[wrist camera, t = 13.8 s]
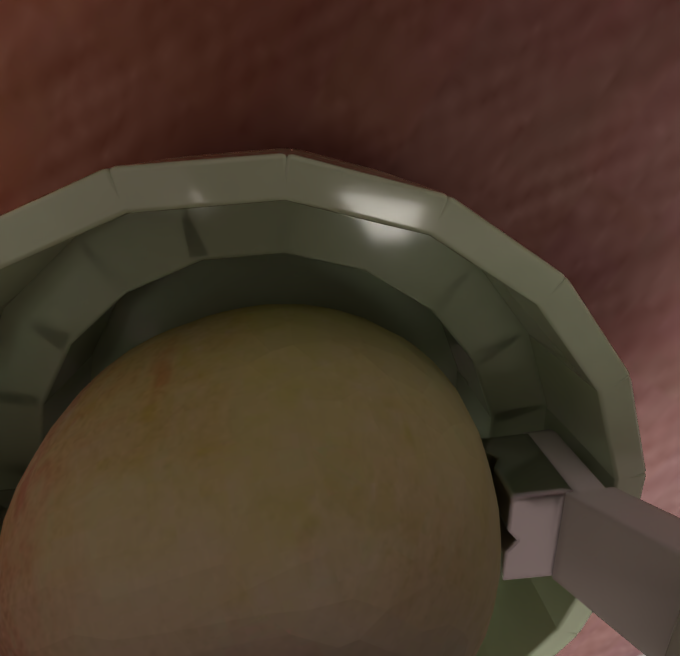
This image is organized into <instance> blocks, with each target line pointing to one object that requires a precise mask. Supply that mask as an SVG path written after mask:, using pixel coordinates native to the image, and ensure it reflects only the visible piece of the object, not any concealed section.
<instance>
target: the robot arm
mask: <svg viewBox="0 0 680 656" xmlns="http://www.w3.org/2000/svg"><path fill="white" fill-rule="evenodd" d="M481 440H482V443H483V447H484V450H485V453H486V457H487V460H488V464H489V467H490V470H491V474H492V479H493V484H494V488H495V493H496V498H497V502H498V507H499V518H500V531H501V566H500V575H501V577H502V579H503V580H512V579H522V578H532V577H543V576H552V579H554V580H555V581H556V582H557V583H558V584H560V585H561V586H562V587H563V588H565V589H566V590H567V591H568V592H569V593H571V594H572V595H573V596H574V597H575V598H577V599H578V600H579V601H580V602H581V603H583V604H584V605H585V606H586V607H588V608H589V609H590V610H591V611H592V612H594V613H595V614H596V615H597V616H598V617H600V618H601V619H602V620H603V621H605V622H606V623H607V624H608V625H609V626H611V627H612V628H613V629H614V630H615V631H617V632H618V633H619V634H620V635H621V636H623V637H624V638H625V639H626V640H628V641H629V642H630V643H631V644H632V645H634V646H635V647H636V648H637V649H638V650H640V651H641V652H642V653H643V654H645V655H646V656H680V518H679V517H677V516H674V515H672V514H670V513H668V512H666V511H664V510H662V509H660V508H658V507H655V506H653V505H651V504H649V503H647V502H645V501H643V500H641V499H638V498H636V497H634V496H632V495H630V494H628V493H626V492H624V491H622V490H619V489H617V488H615V487H609V488H605V487H604V485H603V484H602V483H601V482H600V481H599V480H598V479H597V478H596V477H595V475H594V474H593V473H592V472H591V471H590V470H589V469H588V468H587V466H586V465H585V464H584V463H583V462H582V461H581V460H580V459H579V457H578V456H577V455H576V454H575V453H574V452H573V451H572V450H571V448H570V447H569V446H568V445H567V444H566V443H565V442H564V441H563V439H562V438H561V437H560V436H559V435H558V434H557V433H556V432H555V431H553V430H551V429H546V430H539V431H532V432H524V433H523V434H514V435H505V436H497V437H488V438H481ZM15 490H16V489H6V490H0V534H1V530H2V525H3V521H4V518H5V515H6V513H7V510H8V508H9V505H10V503H11V500H12V498H13V495H14V492H15Z"/></svg>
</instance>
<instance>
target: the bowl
mask: <svg viewBox="0 0 680 656" xmlns="http://www.w3.org/2000/svg"><path fill="white" fill-rule="evenodd" d="M263 304H307V305H313V306H319V307H325V308H331V309H336V310H340V311H343V312H346V313H350V314H353V315H356V316H359V317H363V318H365V319H367V320H369V321H371V322H373V323H375V324H377V325H379V326H381V327H383V328H385V329H387V330H389V331H391V332H393V333H395V334H397V335H399V336H401V337H403V338H404V339H406V340H407V341H409V342H410V343H412V344H413V345H415V346H416V347H417V348H418V349H419V350H421V351H422V352H423V353H424V354H425V355H426V356H428V357H429V358H430V359H431V360H432V361H433V362H434V363H435V364H436V365H437V366H438V367H439V369H440V370H441V371H442V372H443V373H444V374H445V375H446V377H447V378H448V379H449V380H450V382H451V383H452V384H453V386H454V387H455V388H456V390H457V391H458V393H459V395H460V397H461V398H462V400H463V402H464V404H465V406H466V408H467V410H468V412H469V414H470V416H471V418H472V420H473V422H474V424H475V426H476V427H477V429H478V431H479V434H480V437H481V438H488V437H497V436H505V435H514V434H523V433H524V432H532V431H539V430H546V429H551V430H553V431H555V432H556V433H557V434H558V435H559V436H560V437H561V438H562V439H563V441H564V442H565V443H566V444H567V445H568V446H569V447H570V448H571V450H572V451H573V452H574V453H575V454H576V455H577V456H578V457H579V459H580V460H581V461H582V462H583V463H584V464H585V465H586V466H587V468H588V469H589V470H590V471H591V472H592V473H593V474H594V475H595V477H596V478H597V479H598V480H599V481H600V482H601V483H602V484H603V485H604V487H605V488H609V487H615V488H617V489H619V490H622V491H624V492H626V493H628V494H630V495H632V496H634V497H636V498H638V499H640V498H641V494H642V490H643V485H644V481H645V477H646V475H645V471H646V469H645V463H644V457H643V451H642V444H641V438H640V432H639V426H638V419H637V413H636V407H635V401H634V394H633V388H632V382H631V378H630V376H629V372H628V370H627V369H626V367H625V365H624V364H623V362H622V361H621V359H620V358H619V356H618V355H617V353H616V352H615V350H614V348H613V347H612V345H611V344H610V342H609V341H608V339H607V338H606V336H605V335H604V333H603V332H602V330H601V328H600V327H599V325H598V324H597V322H596V321H595V319H594V318H593V316H592V315H591V313H590V311H589V310H588V308H587V307H586V305H585V304H584V302H583V301H582V299H581V298H580V296H579V294H578V293H577V291H576V290H575V288H574V287H573V285H572V284H571V282H570V281H569V279H567V278H566V277H564V275H563V273H562V272H560V271H559V270H557V269H556V268H554V267H553V266H551V265H550V264H549V263H547V262H546V261H544V260H543V259H541V258H540V257H538V256H537V255H536V254H534V253H533V252H531V251H530V250H528V249H527V248H525V247H524V246H523V245H521V244H520V243H518V242H517V241H515V240H514V239H512V238H511V237H510V236H508V235H507V234H505V233H504V232H502V231H501V230H499V229H498V228H497V227H495V226H494V225H492V224H491V223H489V222H488V221H486V220H485V219H484V218H482V217H481V216H479V215H478V214H476V213H475V212H473V211H472V210H471V209H469V208H468V207H466V206H465V205H463V204H462V203H460V202H459V201H458V200H456V199H455V198H453V197H450V196H448V195H445V194H444V193H442V192H439V191H436V190H433V189H431V188H428V187H425V186H422V185H419V184H417V183H414V182H411V181H408V180H406V179H402V178H400V177H397V176H394V175H391V174H389V173H386V172H383V171H380V170H376V169H372V168H368V167H365V166H361V165H357V164H353V163H349V162H346V161H342V160H338V159H334V158H330V157H327V156H323V155H319V154H315V153H311V152H307V151H304V150H300V149H296V148H295V149H292V150H291V149H290V148H278V149H265V150H253V151H240V152H227V153H214V154H201V155H192V156H185V157H178V158H171V159H162V160H155V161H148V162H140V163H133V164H126V165H118V166H114V167H112V168H105V169H102V170H99V171H97V172H95V173H93V174H91V175H88V176H86V177H84V178H82V179H80V180H77V181H75V182H73V183H71V184H69V185H66V186H64V187H62V188H60V189H57V190H55V191H53V192H51V193H49V194H46V195H44V196H42V197H40V198H38V199H35V200H33V201H31V202H29V203H27V204H24V205H22V206H20V207H18V208H16V209H13V210H11V211H9V212H7V213H5V214H2V215H0V490H6V489H16V487H17V485H18V483H19V481H20V480H21V478H22V476H23V474H24V472H25V470H26V469H27V467H28V465H29V463H30V461H31V460H32V458H33V456H34V455H35V453H36V451H37V450H38V448H39V446H40V445H41V443H42V441H43V440H44V438H45V436H46V435H47V433H48V432H49V430H50V428H51V427H52V426H53V424H54V423H55V422H56V421H57V420H58V418H59V417H60V416H61V415H62V413H63V412H64V411H65V410H66V409H67V407H68V406H69V405H70V404H71V402H72V401H73V400H74V399H75V398H76V396H77V395H78V394H79V393H80V391H81V390H82V389H83V388H85V387H86V386H87V385H88V384H89V383H90V382H91V381H92V380H93V379H94V378H95V377H96V376H97V375H98V374H99V373H100V372H101V371H103V370H104V369H105V368H106V367H107V366H108V365H110V364H111V363H112V362H114V361H115V360H117V359H118V358H119V357H121V356H122V355H123V354H125V353H126V352H127V351H129V350H130V349H132V348H134V347H136V346H137V345H139V344H141V343H143V342H145V341H146V340H148V339H150V338H152V337H154V336H156V335H159V334H161V333H163V332H165V331H168V330H170V329H172V328H175V327H178V326H181V325H184V324H187V323H190V322H192V321H195V320H198V319H200V318H203V317H206V316H209V315H212V314H216V313H220V312H224V311H229V310H233V309H238V308H243V307H249V306H256V305H263ZM591 614H592V611H591V610H590V609H589V608H588V607H586V606H585V605H584V604H583V603H581V602H580V601H579V600H578V599H577V598H575V597H574V596H573V595H572V594H571V593H569V592H568V591H567V590H566V589H565V588H563V587H562V586H561V585H560V584H558V583H557V582H556V581H555V580H554V579H552V576H543V577H532V578H522V579H512V580H503V579H502V577H501V575H500V578H499V583H498V588H497V594H496V599H495V605H494V610H493V613H492V617H491V620H490V623H489V626H488V630H487V633H486V636H485V638H484V640H483V642H482V644H481V646H480V648H479V650H478V652H477V654H476V656H555V655H556V654H557V653H558V652H559V651H560V650H562V649H563V648H564V647H565V646H566V645H567V644H568V643H569V642H570V641H571V640H573V639H574V638H575V637H576V636H577V633H579V632H580V631H581V629H582V628H583V626H584V625H585V623H586V622H587V620H588V618H589V617H590V615H591Z"/></svg>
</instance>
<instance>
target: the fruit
mask: <svg viewBox="0 0 680 656" xmlns="http://www.w3.org/2000/svg"><path fill="white" fill-rule="evenodd" d="M500 566H501V531H500V518H499V507H498V502H497V498H496V493H495V488H494V484H493V479H492V474H491V470H490V467H489V464H488V460H487V457H486V453H485V450H484V447H483V443H482V440H481V437H480V434H479V431H478V429H477V427H476V426H475V424H474V422H473V420H472V418H471V416H470V414H469V412H468V410H467V408H466V406H465V404H464V402H463V400H462V398H461V397H460V395H459V393H458V391H457V390H456V388H455V387H454V386H453V384H452V383H451V382H450V380H449V379H448V378H447V377H446V375H445V374H444V373H443V372H442V371H441V370H440V369H439V367H438V366H437V365H436V364H435V363H434V362H433V361H432V360H431V359H430V358H429V357H428V356H426V355H425V354H424V353H423V352H422V351H421V350H419V349H418V348H417V347H416V346H415V345H413V344H412V343H410V342H409V341H407V340H406V339H404V338H403V337H401V336H399V335H397V334H395V333H393V332H391V331H389V330H387V329H385V328H383V327H381V326H379V325H377V324H375V323H373V322H371V321H369V320H367V319H365V318H363V317H359V316H356V315H353V314H350V313H346V312H343V311H340V310H336V309H331V308H325V307H319V306H313V305H307V304H263V305H256V306H249V307H243V308H238V309H233V310H229V311H224V312H220V313H216V314H212V315H209V316H206V317H203V318H200V319H198V320H195V321H192V322H190V323H187V324H184V325H181V326H178V327H175V328H172V329H170V330H168V331H165V332H163V333H161V334H159V335H156V336H154V337H152V338H150V339H148V340H146V341H145V342H143V343H141V344H139V345H137V346H136V347H134V348H132V349H130V350H129V351H127V352H126V353H125V354H123V355H122V356H121V357H119V358H118V359H117V360H115V361H114V362H112V363H111V364H110V365H108V366H107V367H106V368H105V369H104V370H103V371H101V372H100V373H99V374H98V375H97V376H96V377H95V378H94V379H93V380H92V381H91V382H90V383H89V384H88V385H87V386H86V387H85V388H83V389H82V390H81V391H80V393H79V394H78V395H77V396H76V398H75V399H74V400H73V401H72V402H71V404H70V405H69V406H68V407H67V409H66V410H65V411H64V412H63V413H62V415H61V416H60V417H59V418H58V420H57V421H56V422H55V423H54V424H53V426H52V427H51V428H50V430H49V432H48V433H47V435H46V436H45V438H44V440H43V441H42V443H41V445H40V446H39V448H38V450H37V451H36V453H35V455H34V456H33V458H32V460H31V461H30V463H29V465H28V467H27V469H26V470H25V472H24V474H23V476H22V478H21V480H20V481H19V483H18V485H17V487H16V490H15V492H14V495H13V498H12V500H11V503H10V505H9V508H8V510H7V513H6V515H5V518H4V521H3V525H2V530H1V534H0V656H476V654H477V652H478V650H479V648H480V646H481V644H482V642H483V640H484V638H485V636H486V633H487V630H488V626H489V623H490V620H491V617H492V613H493V610H494V605H495V599H496V594H497V588H498V583H499V578H500Z"/></svg>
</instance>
